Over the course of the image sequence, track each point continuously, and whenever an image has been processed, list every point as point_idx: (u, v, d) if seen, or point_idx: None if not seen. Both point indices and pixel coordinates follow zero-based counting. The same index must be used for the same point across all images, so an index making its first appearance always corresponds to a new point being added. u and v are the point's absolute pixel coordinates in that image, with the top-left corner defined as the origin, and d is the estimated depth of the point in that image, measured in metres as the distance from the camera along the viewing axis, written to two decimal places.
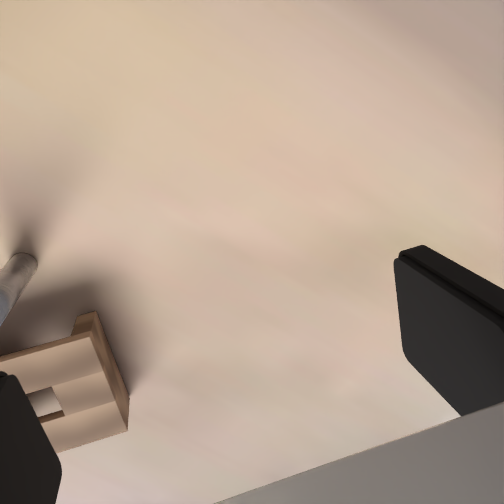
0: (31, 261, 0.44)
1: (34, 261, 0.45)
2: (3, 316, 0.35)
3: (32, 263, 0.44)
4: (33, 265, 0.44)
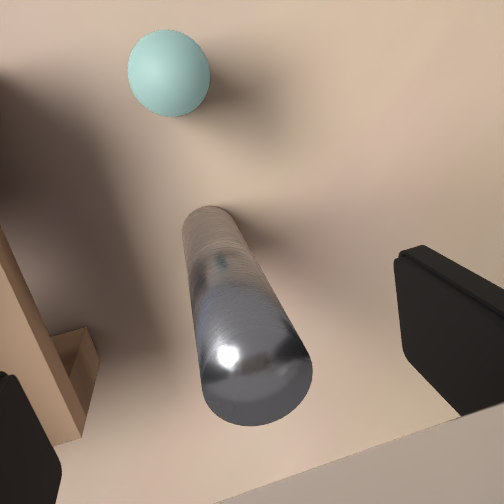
0: None
1: None
2: None
3: None
4: None
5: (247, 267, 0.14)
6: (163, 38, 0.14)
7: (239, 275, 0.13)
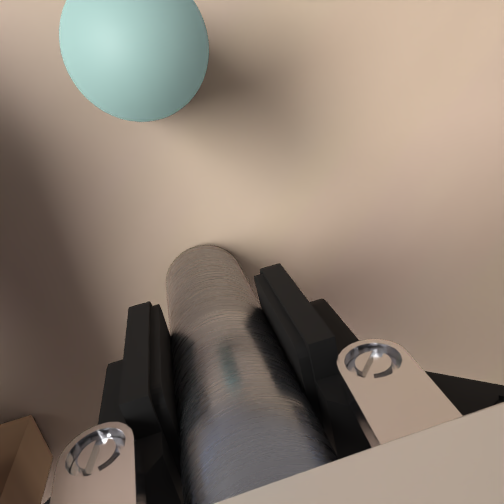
0: None
1: None
2: None
3: None
4: None
5: (281, 397, 0.08)
6: None
7: (274, 431, 0.07)
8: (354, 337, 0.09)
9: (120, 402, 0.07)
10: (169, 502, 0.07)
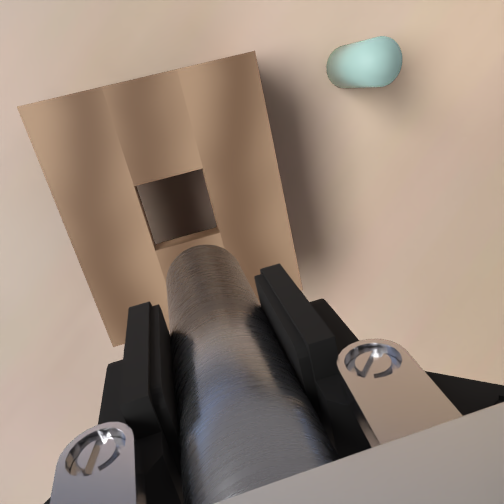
0: None
1: None
2: None
3: None
4: None
5: (282, 397, 0.07)
6: (380, 41, 0.24)
7: (274, 431, 0.07)
8: (354, 337, 0.09)
9: (120, 402, 0.07)
10: (169, 502, 0.07)
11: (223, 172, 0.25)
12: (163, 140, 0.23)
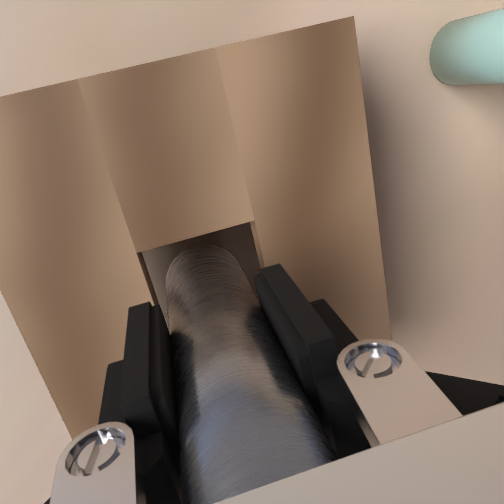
0: None
1: None
2: None
3: None
4: None
5: (281, 397, 0.07)
6: None
7: (273, 430, 0.07)
8: (354, 337, 0.09)
9: (120, 402, 0.07)
10: (169, 502, 0.07)
11: (288, 227, 0.14)
12: (187, 174, 0.13)
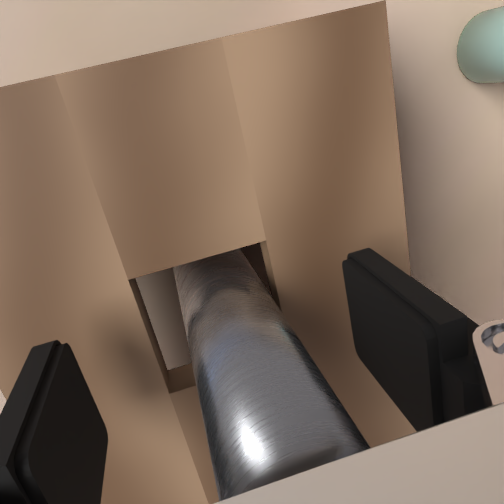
0: None
1: None
2: None
3: None
4: None
5: (269, 317, 0.10)
6: None
7: (263, 334, 0.09)
8: (469, 320, 0.09)
9: None
10: None
11: (305, 247, 0.12)
12: (188, 187, 0.11)
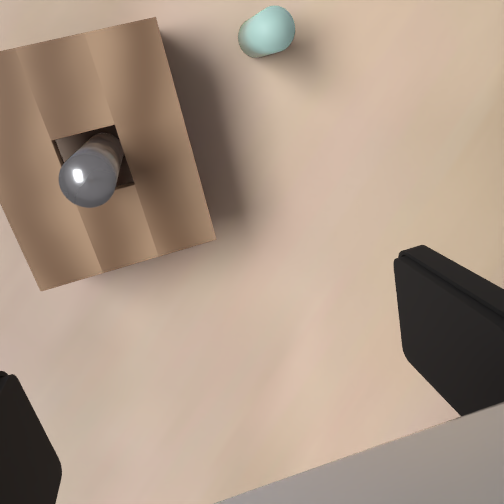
0: None
1: None
2: None
3: None
4: None
5: (100, 145, 0.25)
6: (273, 10, 0.27)
7: (92, 146, 0.24)
8: None
9: None
10: None
11: (134, 129, 0.27)
12: (75, 97, 0.26)
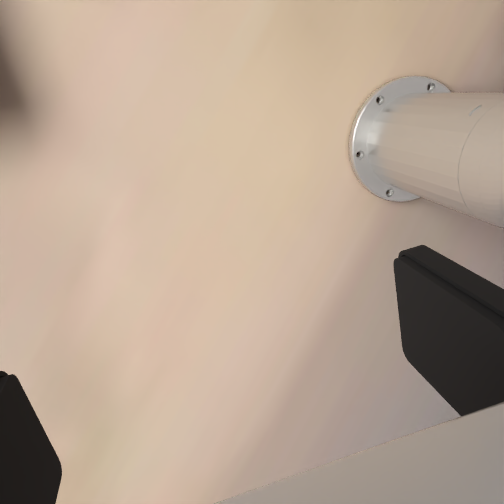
0: None
1: None
2: None
3: None
4: None
5: None
6: None
7: None
8: None
9: None
10: None
11: None
12: None
